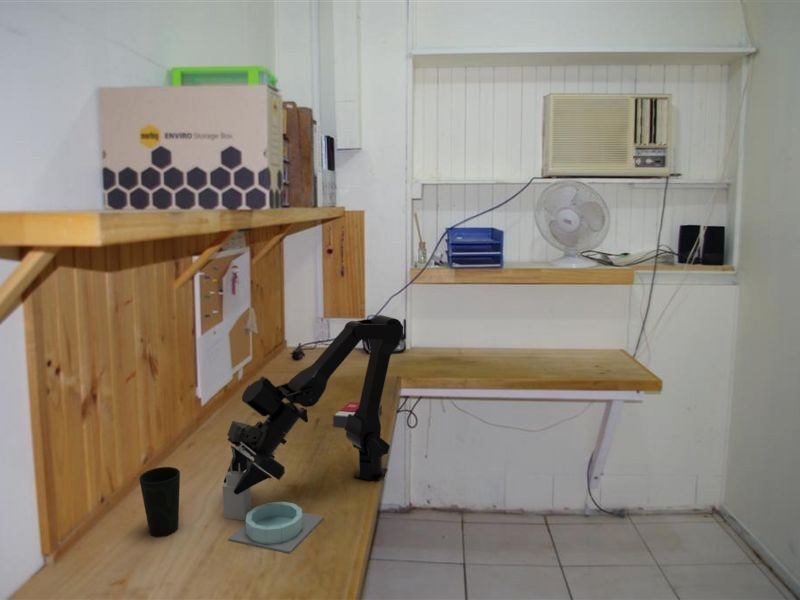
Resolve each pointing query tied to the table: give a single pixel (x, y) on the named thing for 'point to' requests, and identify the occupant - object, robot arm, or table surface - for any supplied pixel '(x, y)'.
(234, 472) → the power adapter
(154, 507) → the cup
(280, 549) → the mat
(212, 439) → the table surface
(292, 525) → the bowl
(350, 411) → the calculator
